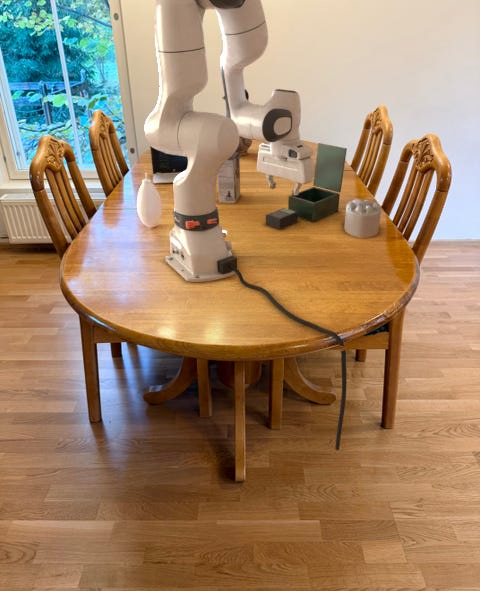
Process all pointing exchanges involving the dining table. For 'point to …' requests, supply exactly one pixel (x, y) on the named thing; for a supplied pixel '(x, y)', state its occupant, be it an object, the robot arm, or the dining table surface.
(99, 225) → the dining table surface
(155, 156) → the laptop
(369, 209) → the lumpy-topped squat cylinder
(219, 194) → the coffee box
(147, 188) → the sauce bottle
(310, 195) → the case
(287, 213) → the dark grey block
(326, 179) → the case lid
